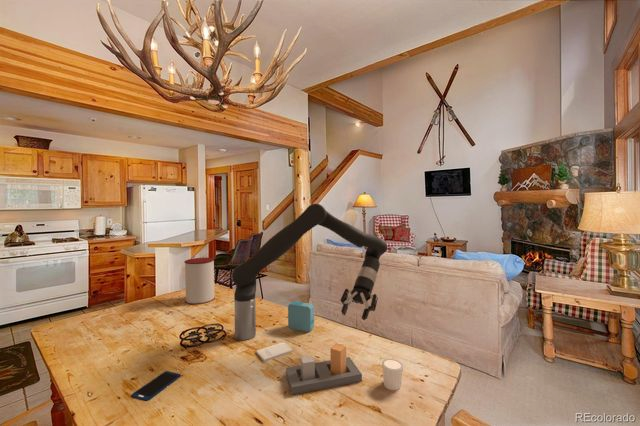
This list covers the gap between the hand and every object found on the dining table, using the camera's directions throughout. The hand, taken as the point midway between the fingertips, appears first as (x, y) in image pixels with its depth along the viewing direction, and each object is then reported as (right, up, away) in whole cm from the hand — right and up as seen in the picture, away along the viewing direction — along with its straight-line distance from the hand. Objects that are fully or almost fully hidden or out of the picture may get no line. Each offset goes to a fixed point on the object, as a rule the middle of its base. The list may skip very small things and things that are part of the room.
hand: (353, 316), depth 108 cm
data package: (-22, -16, +28) cm, 39 cm away
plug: (-6, -17, -9) cm, 20 cm away
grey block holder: (-12, -17, -11) cm, 23 cm away
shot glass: (+11, -17, -14) cm, 25 cm away
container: (-88, -15, +69) cm, 113 cm away
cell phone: (-67, -18, -14) cm, 71 cm away
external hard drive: (-31, -17, +6) cm, 36 cm away
